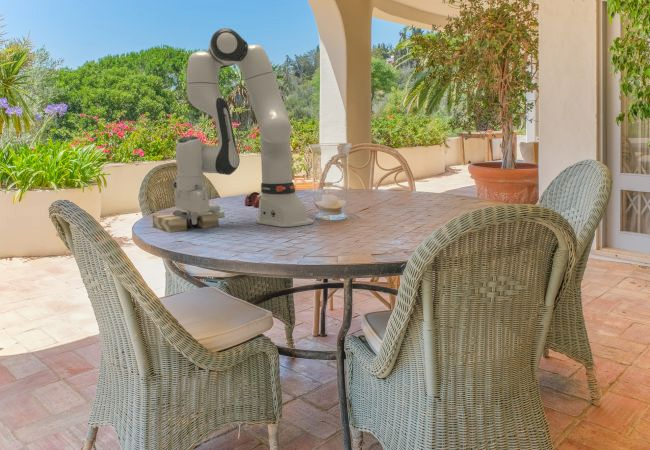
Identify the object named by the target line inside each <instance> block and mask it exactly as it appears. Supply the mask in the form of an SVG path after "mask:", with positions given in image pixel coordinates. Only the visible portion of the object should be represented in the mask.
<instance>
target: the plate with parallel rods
mask: <svg viewBox="0 0 650 450" xmlns="http://www.w3.org/2000/svg"><path fill="white" fill-rule="evenodd" d="M180 210H181V211H185V212H186V210H182V209H180ZM209 213H213V214H217V215H218V219H221V218H225V211H221V207H220V206H219V204H213V203H210V202H209Z"/></svg>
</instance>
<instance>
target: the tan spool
mask: <svg viewBox="0 0 650 450" xmlns="http://www.w3.org/2000/svg"><path fill="white" fill-rule="evenodd" d="M186 212H187V211H186ZM172 214H173V213H172ZM172 214H171V213H161V214H152V215H151V216H152V217H151V218H152V227H154V228H157V229H161V230H162V231H163V230H164V231H166V232H168V233H175V232H183V231H187V230H188V227H187V222H186V218H182V217H179V216H176V215H172ZM219 223H220V222H219V218H218V215H217V214H213V213H206V214H198V224H197V225H196V226H195V227H200V228H202V229H205V228H212V227H213V228H214V227H219V226H220V225H219Z"/></svg>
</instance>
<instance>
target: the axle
mask: <svg viewBox="0 0 650 450" xmlns="http://www.w3.org/2000/svg"><path fill="white" fill-rule="evenodd" d="M181 210H182V209H176V210H174V211H173V212H172V215H176V216H179V217H182V218H186V222H187V228H189V229H191V228H195V227H197V226H196V225H197V224H198V218H197V224H194V225H193V224H190V223H189V218H188V216H187V212H185V211H181Z"/></svg>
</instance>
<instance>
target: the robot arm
mask: <svg viewBox="0 0 650 450" xmlns="http://www.w3.org/2000/svg"><path fill="white" fill-rule="evenodd" d="M233 65H236V66H237V67H238V68H239V70H240V72H241V75H242V78H243V82H244V84H245V88H246V91H247V93H248V97H249V100H250V104H251V107H252V110H253V112H254V116H255V119H256V121H257V122H256V123H257V125H258V128H259V139H260V163H261V164H260V165H261V184H260V193H261V194H262V197H261V198H260V200H259V207H258V214H257V215H258V219H255V224H259V225H268V226H272V227H280V228H288V227H289V228H290V227H300V226H307V225H312V224H314V223H315V220H314V219H313V218H309V217H308V210H307V205H306V203H304V202H303V200H301V198H300V197H299V196H298V195H297V194H296V189H297V188H296V185H294V182H293V173H292V171H293V170H292V169H293V168H292V167H293V164H292V152H291V135H292V130H293V129H292V124H291V121H290V118H289V114H288V112H287V109H286V106H285V103H284V100H283V98H282V94H281V91H280V87H279V85H278V82H277V78H276V75H275V72H274V69H273V65H272V63H271V61H270V58H269V56H268V54H267V52H266V50H265V48H264V47H263V46H261V45H259V44H255V43H254V44H248V43H247V41H246V40H245V39H244V38H243V37H242V36H240V34H239V33H237V32H236V31H235V30H233V29H231V28H227V27H224V28H221V29H218V30H217V31H215V32H214V33H213V34H212V36H211V39H210V41H209V46H208V49H207V50H199V51H195V52H192V53H191V54H190V55H189V57H188V62H187V65H186V66H187V67H186V68H187V69H186V94H187V95H186V96H187V99H188V102H189V103H190V104H191V105H192V106H193V107H194V108H195V109H197V110H199V111H201V112H203V113H205V114H207V115H209V116H210V117H212V118H213V120H214V122H215V126H216V132H217V137H218V144H219V145H207V144H205V143H203V142H202V141H201V139H200V137H199V136H194V135H193V136H191V135H190V136H183V137H182V138H179V139H178V140H177V142H176V147H175V148H176V149H175V162H176V166H177V173H176V174H177V175H176V180H174V181H173V182H172V189H174V190H173V191H174V193H173V196H174V203H175V204H174V205H175V207H176V209H177V210H186V211H187V216H188V218H189V223H190V224H193V225H194V224H197V218H198V214H206V213H209V203H210V200H209V194H208V192H207V191H206V190H205V180H204V179H205V178H204V174H205V173H206V174H219V175H224V176H225V175H227V176H230V175H232V174H233V173H235V171H237V169H238V167H239V165H240V161H241V160H240V154H239V152H238V148H237V146H236V141H235V134H234V130H233V129H234V128H233V123H232V116H231V113H230V107H229V104H228V103H227V101H226V100H225V99H224V98H223V96H222V94H221V91H220V82H219V81H220V80H219V77H220V76H219V74H220V69H224V68H229V67H231V66H233Z"/></svg>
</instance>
